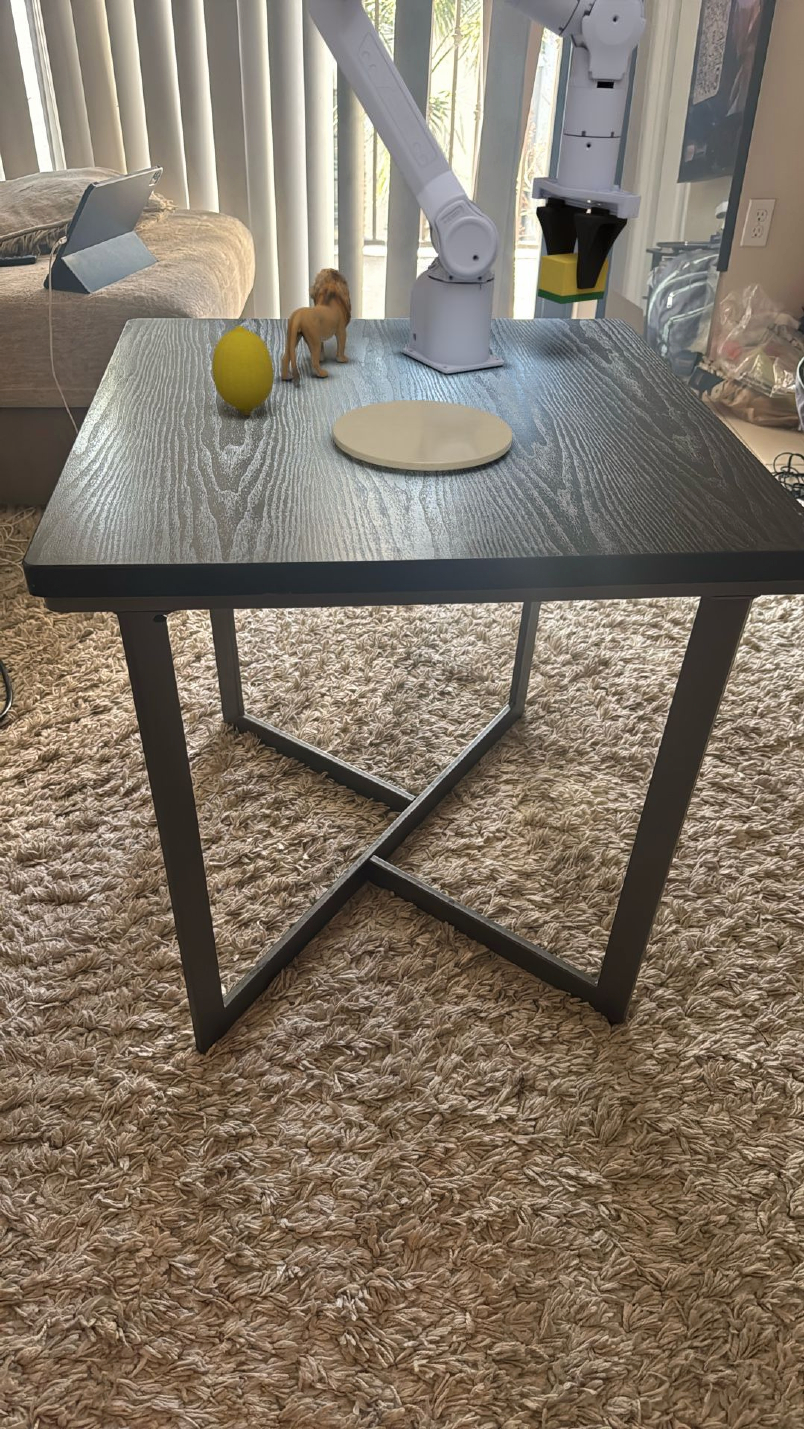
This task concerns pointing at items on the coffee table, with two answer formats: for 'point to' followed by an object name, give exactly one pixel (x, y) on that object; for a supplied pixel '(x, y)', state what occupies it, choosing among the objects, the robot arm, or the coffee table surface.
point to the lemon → (242, 369)
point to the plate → (422, 435)
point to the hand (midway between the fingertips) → (572, 283)
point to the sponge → (567, 280)
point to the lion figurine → (319, 323)
